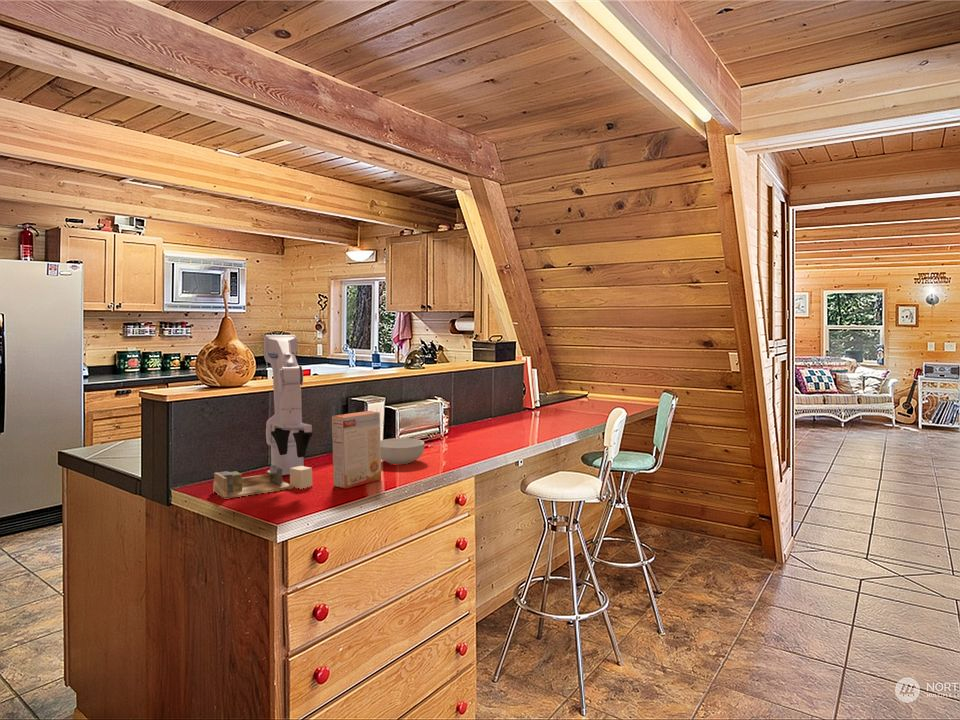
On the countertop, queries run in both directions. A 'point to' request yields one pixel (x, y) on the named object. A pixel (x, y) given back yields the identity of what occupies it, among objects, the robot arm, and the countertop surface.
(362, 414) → the cracker box
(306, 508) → the countertop surface
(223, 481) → the shelf
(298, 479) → the beige wooden cube
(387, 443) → the cereal bowl
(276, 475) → the bookend
